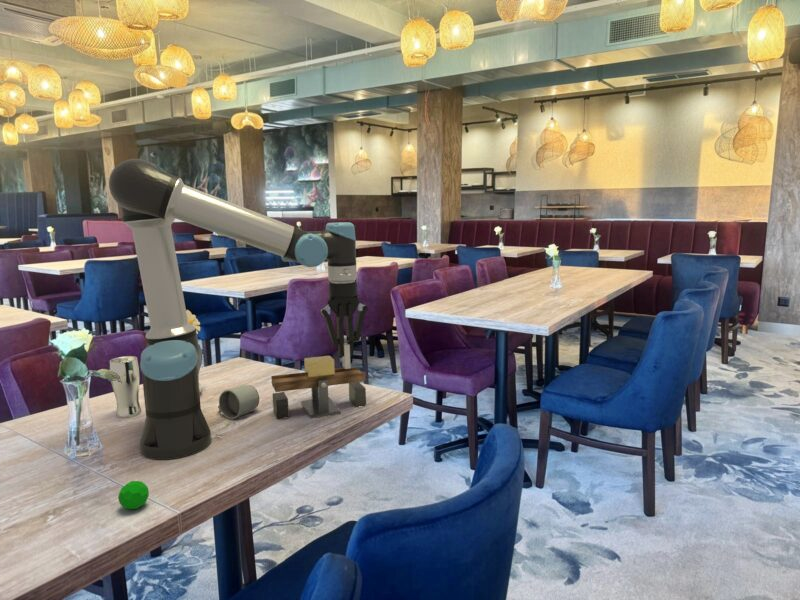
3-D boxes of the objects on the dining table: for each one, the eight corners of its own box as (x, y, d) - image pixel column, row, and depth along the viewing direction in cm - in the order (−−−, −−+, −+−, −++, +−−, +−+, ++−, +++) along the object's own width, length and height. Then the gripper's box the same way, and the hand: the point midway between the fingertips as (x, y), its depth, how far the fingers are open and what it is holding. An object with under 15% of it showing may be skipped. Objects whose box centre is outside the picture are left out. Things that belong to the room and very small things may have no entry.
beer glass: (129, 407, 153) (123, 355, 151) (149, 410, 151) (144, 356, 149) (108, 416, 147) (102, 361, 144) (129, 419, 145) (123, 363, 142)
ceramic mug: (262, 410, 150) (260, 383, 148) (240, 421, 142) (238, 392, 141) (233, 405, 154) (230, 378, 153) (210, 415, 147) (208, 387, 146)
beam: (275, 392, 142) (275, 383, 142) (271, 384, 148) (271, 375, 148) (365, 381, 151) (365, 372, 150) (358, 374, 157) (358, 366, 156)
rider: (308, 381, 146) (307, 362, 145) (304, 376, 150) (304, 358, 149) (334, 378, 148) (334, 359, 147) (330, 373, 152) (329, 355, 152)
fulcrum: (279, 423, 141) (277, 388, 139) (271, 407, 152) (269, 375, 150) (369, 409, 149) (368, 376, 148) (356, 395, 160) (355, 364, 159)
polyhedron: (146, 497, 105) (144, 473, 105) (152, 508, 102) (150, 483, 101) (117, 506, 103) (114, 481, 102) (122, 517, 99) (120, 492, 98)
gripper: (322, 284, 142) (326, 374, 146) (370, 281, 146) (373, 367, 150) (315, 281, 149) (319, 366, 153) (362, 277, 153) (365, 361, 157)
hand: (346, 367), depth 151 cm, fingers closed
